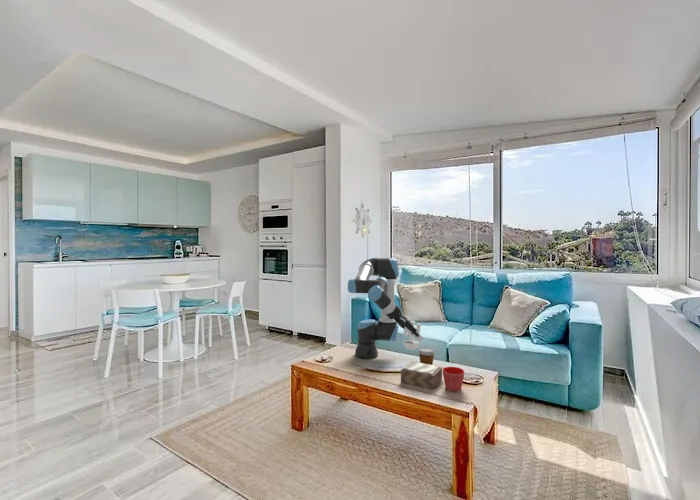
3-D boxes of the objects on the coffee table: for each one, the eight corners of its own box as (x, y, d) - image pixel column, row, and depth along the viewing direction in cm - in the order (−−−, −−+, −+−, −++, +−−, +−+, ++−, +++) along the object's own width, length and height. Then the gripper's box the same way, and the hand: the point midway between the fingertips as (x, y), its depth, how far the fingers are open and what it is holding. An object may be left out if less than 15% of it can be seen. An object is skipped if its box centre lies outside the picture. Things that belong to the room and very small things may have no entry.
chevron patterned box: (400, 382, 199) (400, 368, 199) (410, 373, 212) (410, 360, 212) (433, 389, 190) (433, 374, 190) (441, 379, 203) (442, 366, 203)
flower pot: (451, 394, 184) (452, 375, 184) (438, 386, 194) (438, 368, 194) (468, 391, 188) (468, 372, 188) (454, 383, 198) (454, 365, 198)
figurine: (407, 345, 207) (407, 318, 207) (422, 348, 201) (423, 321, 201) (400, 348, 201) (401, 320, 201) (415, 351, 196) (416, 323, 195)
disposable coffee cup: (416, 370, 217) (416, 350, 216) (420, 366, 225) (421, 346, 225) (432, 373, 212) (432, 352, 212) (436, 368, 221) (436, 348, 220)
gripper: (378, 311, 206) (404, 338, 211) (394, 318, 186) (422, 348, 192) (387, 301, 208) (412, 328, 213) (404, 307, 188) (431, 337, 193)
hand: (417, 337), depth 202 cm, fingers closed on figurine, 8 cm apart
